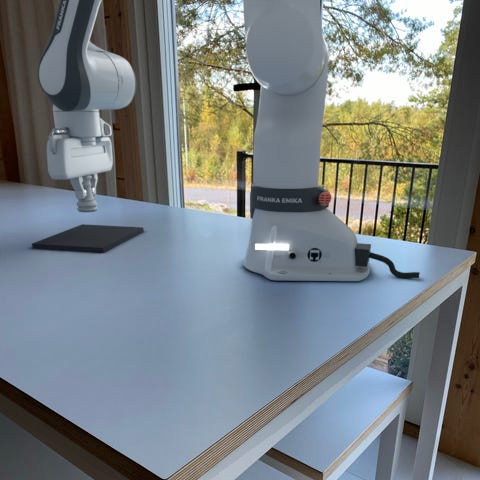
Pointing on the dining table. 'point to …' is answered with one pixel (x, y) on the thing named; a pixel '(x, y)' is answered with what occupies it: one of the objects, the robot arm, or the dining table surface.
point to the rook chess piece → (88, 202)
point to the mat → (89, 238)
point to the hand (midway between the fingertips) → (86, 197)
